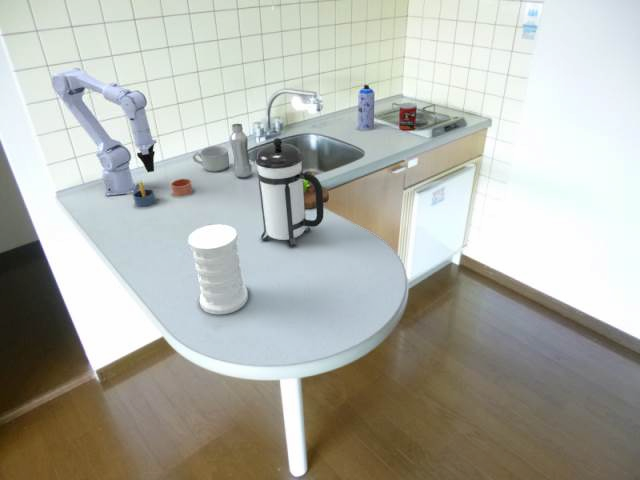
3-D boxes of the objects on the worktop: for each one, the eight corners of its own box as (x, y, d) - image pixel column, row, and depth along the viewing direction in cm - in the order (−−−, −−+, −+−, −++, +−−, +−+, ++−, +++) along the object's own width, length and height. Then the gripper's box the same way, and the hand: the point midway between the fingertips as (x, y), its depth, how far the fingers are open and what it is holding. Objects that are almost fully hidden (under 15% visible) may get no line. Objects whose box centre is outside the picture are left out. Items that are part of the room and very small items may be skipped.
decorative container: (250, 283, 119) (241, 222, 110) (245, 313, 109) (235, 248, 100) (204, 286, 119) (192, 224, 110) (196, 315, 109) (181, 251, 100)
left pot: (134, 209, 158) (131, 198, 156) (137, 200, 164) (134, 190, 162) (155, 207, 159) (152, 196, 157) (158, 198, 165) (155, 188, 163)
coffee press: (266, 254, 131) (254, 152, 115) (257, 227, 144) (245, 133, 128) (325, 243, 134) (321, 143, 119) (311, 218, 148) (306, 125, 132)
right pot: (172, 198, 165) (169, 187, 163) (174, 190, 171) (172, 179, 169) (192, 196, 166) (190, 185, 164) (193, 188, 172) (191, 178, 170)
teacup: (233, 164, 190) (231, 145, 186) (226, 174, 181) (223, 155, 177) (200, 164, 192) (197, 145, 188) (192, 174, 183) (188, 155, 178)
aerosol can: (355, 126, 226) (355, 84, 215) (370, 124, 227) (371, 82, 217) (361, 131, 219) (361, 88, 209) (376, 129, 221) (377, 86, 211)
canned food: (397, 130, 218) (398, 107, 213) (400, 125, 225) (401, 102, 219) (414, 131, 216) (415, 107, 211) (416, 126, 223) (417, 103, 217)
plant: (262, 192, 166) (259, 162, 160) (314, 182, 172) (312, 153, 166) (278, 216, 150) (275, 184, 144) (334, 204, 156) (333, 173, 150)
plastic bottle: (249, 179, 176) (242, 128, 166) (232, 179, 177) (224, 127, 167) (254, 173, 181) (248, 122, 171) (238, 172, 183) (231, 122, 172)
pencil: (143, 203, 161) (138, 182, 157) (144, 201, 162) (138, 180, 158) (147, 203, 161) (142, 181, 157) (148, 201, 162) (142, 180, 158)
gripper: (153, 133, 151) (163, 172, 158) (152, 122, 163) (161, 159, 170) (130, 137, 149) (141, 176, 156) (131, 125, 161) (141, 162, 168)
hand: (150, 167), depth 163 cm, fingers open, 7 cm apart
